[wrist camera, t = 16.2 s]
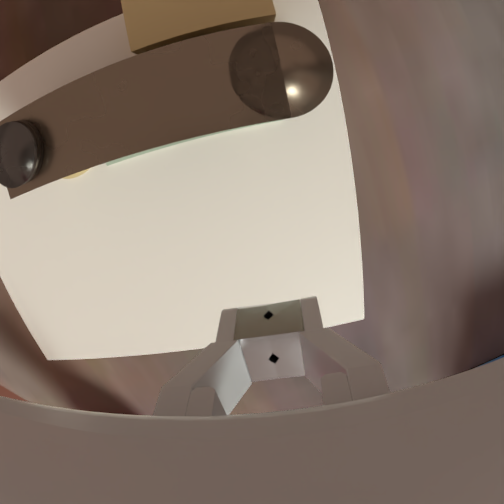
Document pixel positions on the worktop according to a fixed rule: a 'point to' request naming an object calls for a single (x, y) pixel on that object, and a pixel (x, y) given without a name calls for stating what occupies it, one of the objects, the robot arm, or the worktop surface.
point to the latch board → (181, 207)
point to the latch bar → (165, 101)
